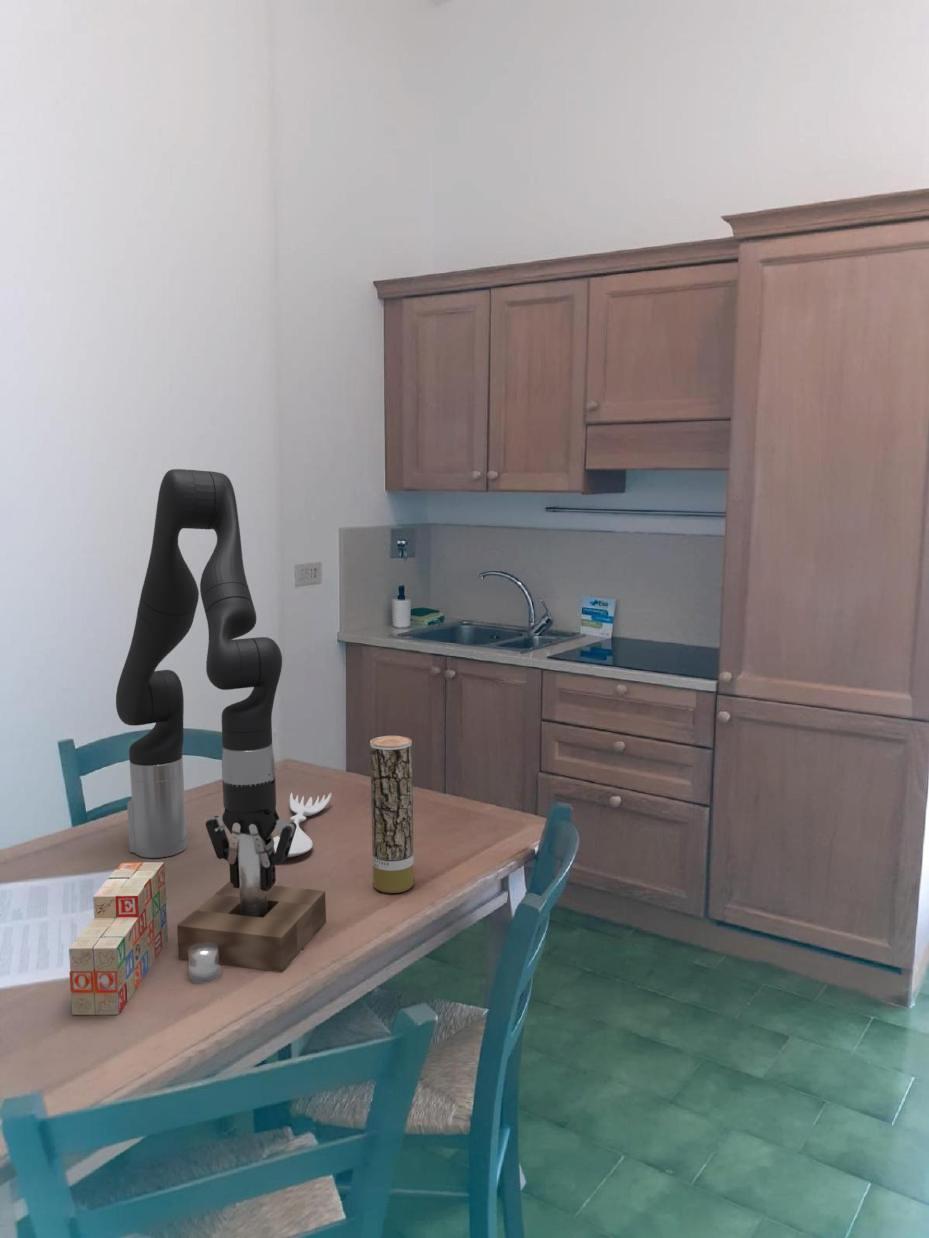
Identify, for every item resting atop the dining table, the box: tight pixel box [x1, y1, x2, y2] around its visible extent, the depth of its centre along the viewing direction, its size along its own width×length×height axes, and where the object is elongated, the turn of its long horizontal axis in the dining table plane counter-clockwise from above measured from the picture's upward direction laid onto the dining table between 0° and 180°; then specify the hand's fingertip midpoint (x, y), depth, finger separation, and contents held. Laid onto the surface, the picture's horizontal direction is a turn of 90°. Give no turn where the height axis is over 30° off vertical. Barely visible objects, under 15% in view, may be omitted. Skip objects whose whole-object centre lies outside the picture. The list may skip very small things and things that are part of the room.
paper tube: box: [369, 735, 415, 894], centre depth 165 cm, size 7×7×25 cm
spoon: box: [273, 792, 332, 858], centre depth 192 cm, size 9×32×4 cm, turn 179°
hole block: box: [176, 880, 327, 972], centre depth 148 cm, size 16×16×5 cm
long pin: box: [238, 832, 268, 918], centre depth 147 cm, size 4×4×14 cm
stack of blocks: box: [68, 861, 169, 1016], centre depth 137 cm, size 21×6×12 cm, turn 0°
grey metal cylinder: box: [188, 942, 221, 984], centre depth 137 cm, size 4×4×4 cm
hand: (253, 886), depth 147 cm, fingers closed on long pin, 4 cm apart
